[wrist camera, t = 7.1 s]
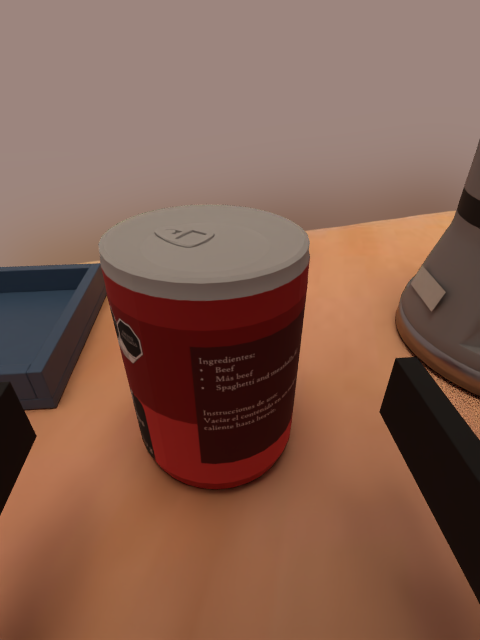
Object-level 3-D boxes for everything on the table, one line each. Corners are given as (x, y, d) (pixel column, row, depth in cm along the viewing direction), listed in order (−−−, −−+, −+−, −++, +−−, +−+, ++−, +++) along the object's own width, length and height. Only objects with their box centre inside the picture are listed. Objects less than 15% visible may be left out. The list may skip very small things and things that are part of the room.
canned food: (178, 368, 24) (155, 197, 18) (300, 393, 22) (322, 211, 16) (112, 469, 18) (43, 263, 12) (274, 516, 16) (293, 298, 10)
